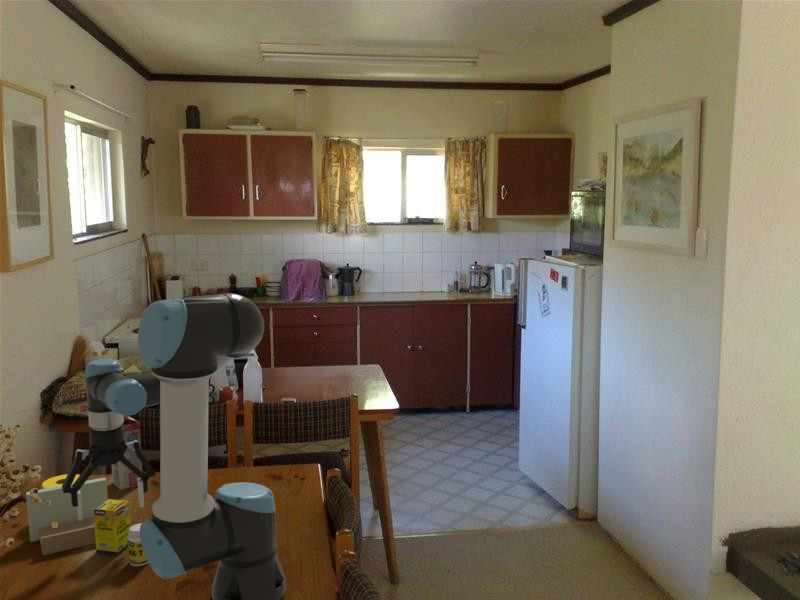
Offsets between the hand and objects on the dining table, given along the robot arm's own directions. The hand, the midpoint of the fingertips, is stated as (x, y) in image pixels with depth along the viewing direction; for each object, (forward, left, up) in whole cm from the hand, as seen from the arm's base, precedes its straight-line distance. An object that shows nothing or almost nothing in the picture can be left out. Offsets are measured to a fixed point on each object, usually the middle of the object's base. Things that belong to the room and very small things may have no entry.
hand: (111, 511), depth 167 cm
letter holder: (+10, +8, -9) cm, 16 cm away
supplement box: (0, 0, -9) cm, 9 cm away
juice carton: (+40, -10, -9) cm, 42 cm away
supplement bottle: (-10, -4, -9) cm, 14 cm away
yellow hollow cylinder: (+26, +8, -9) cm, 28 cm away
